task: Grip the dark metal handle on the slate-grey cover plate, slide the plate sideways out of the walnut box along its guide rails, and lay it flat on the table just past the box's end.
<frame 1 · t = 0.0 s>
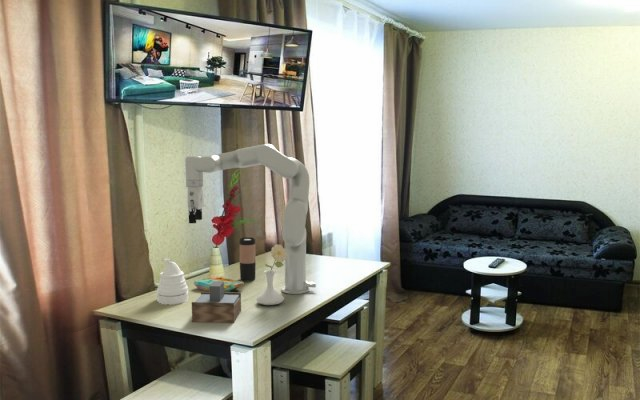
hand: (195, 221, 254), 31 cm above the table, tool pointing down, fingers open, 9 cm apart
cover plate: (217, 301, 220), point 6 cm above the table, touching walnut box
honey pot: (172, 300, 242), on the table
travel mug: (247, 279, 275), on the table
walnut box: (217, 316, 221), on the table
flower in vase: (272, 303, 238), on the table
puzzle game: (219, 290, 258), on the table
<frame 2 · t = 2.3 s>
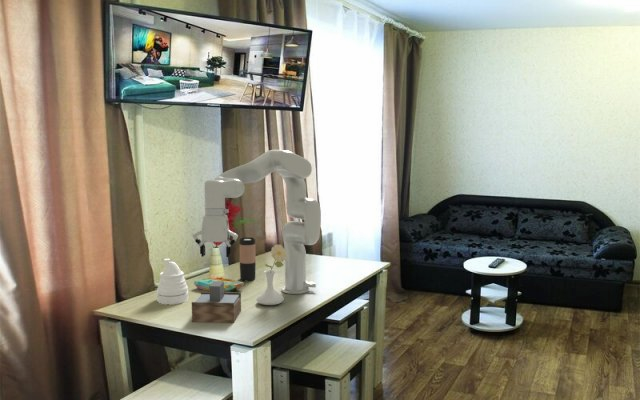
hand: (215, 256, 218), 24 cm above the table, tool pointing down, fingers open, 9 cm apart
nothing on the table moved.
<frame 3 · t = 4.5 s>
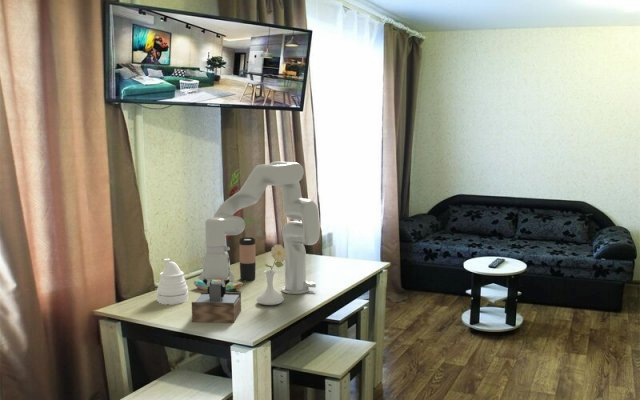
hand: (216, 295, 220), 8 cm above the table, tool pointing down, fingers closed on cover plate, 4 cm apart
cover plate: (217, 301, 220), point 6 cm above the table, touching gripper, walnut box
everything else where it was.
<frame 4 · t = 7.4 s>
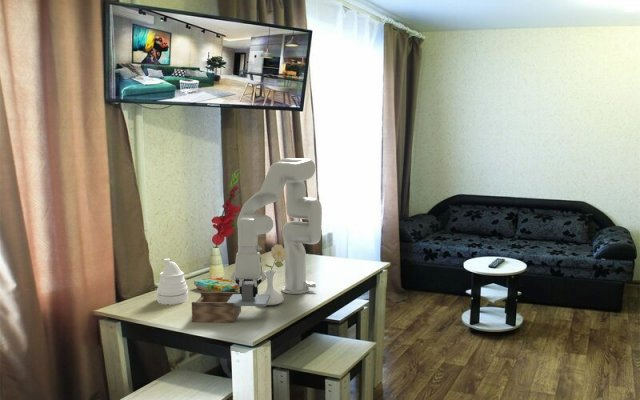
hand: (248, 295, 219), 8 cm above the table, tool pointing down, fingers closed on cover plate, 4 cm apart
cover plate: (248, 301, 219), point 6 cm above the table, touching gripper
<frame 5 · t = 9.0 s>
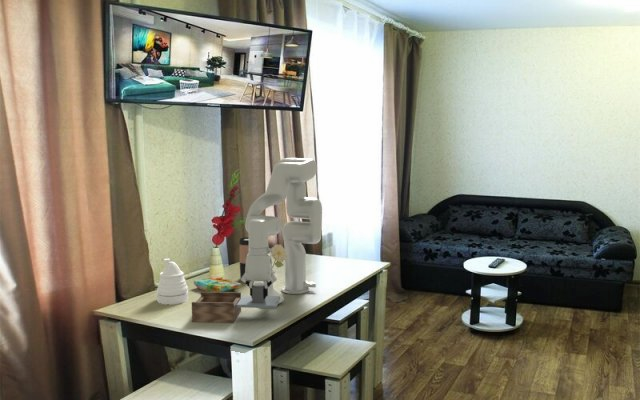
hand: (258, 297, 219), 8 cm above the table, tool pointing down, fingers closed on cover plate, 4 cm apart
cover plate: (259, 302, 219), point 6 cm above the table, touching gripper
when the fingers open (3 cm above the table, at t = 10.4 s): cover plate drops 1 cm, on the table.
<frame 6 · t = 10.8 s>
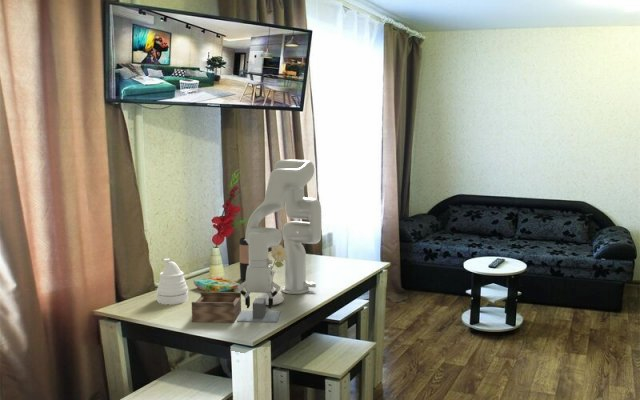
hand: (259, 307, 219), 4 cm above the table, tool pointing down, fingers open, 8 cm apart
cover plate: (259, 318, 220), on the table
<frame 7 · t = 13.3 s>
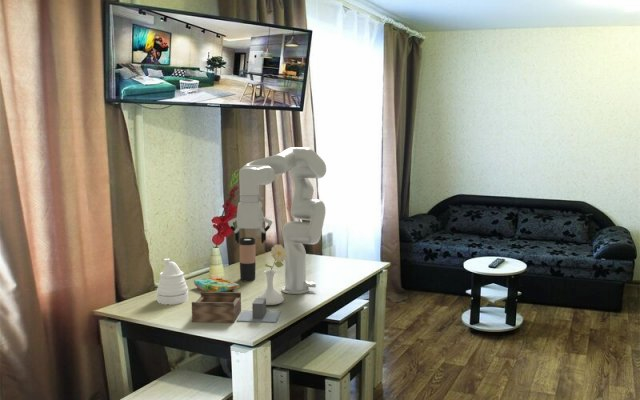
hand: (250, 242, 222), 28 cm above the table, tool pointing down, fingers open, 9 cm apart
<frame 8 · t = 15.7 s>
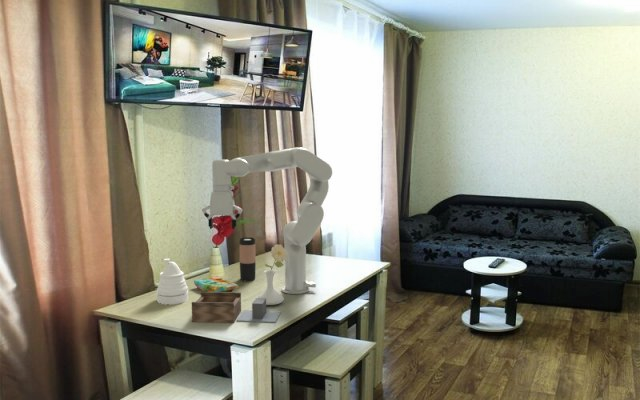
hand: (222, 228, 242), 30 cm above the table, tool pointing down, fingers open, 9 cm apart
at the end: cover plate inside the target area (0.5 cm from its centre), on the table; cover plate tilted 0°; the gripper is holding nothing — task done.
